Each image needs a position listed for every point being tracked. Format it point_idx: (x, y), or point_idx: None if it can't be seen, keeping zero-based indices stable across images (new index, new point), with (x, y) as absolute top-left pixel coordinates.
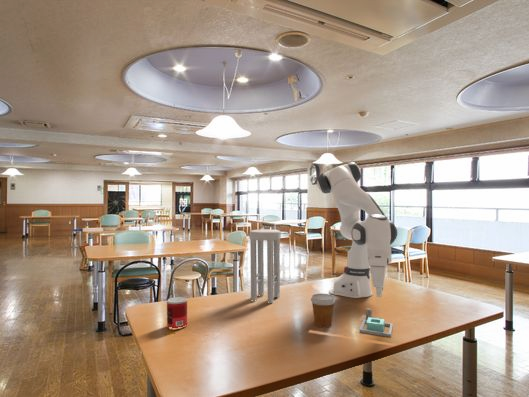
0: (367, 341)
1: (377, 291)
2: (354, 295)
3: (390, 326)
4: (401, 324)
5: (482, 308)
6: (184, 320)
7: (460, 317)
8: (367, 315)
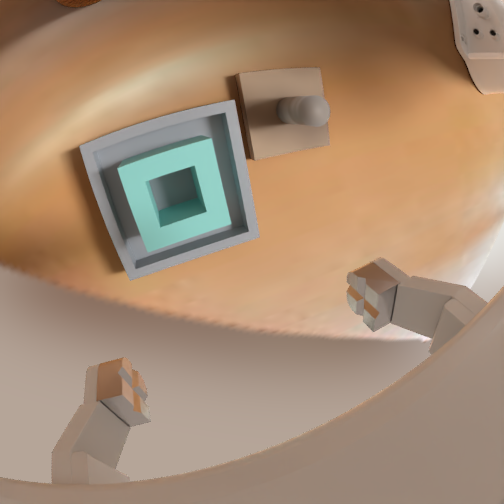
0: (48, 206)
1: (81, 422)
2: (464, 40)
3: (217, 244)
4: (313, 236)
5: None
6: None
7: None
8: (285, 106)
